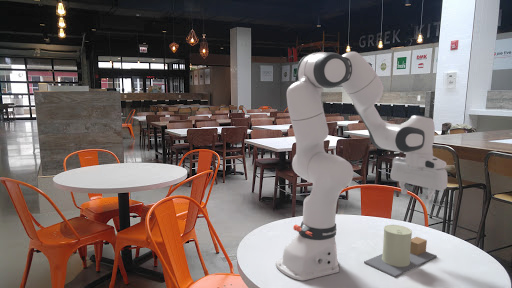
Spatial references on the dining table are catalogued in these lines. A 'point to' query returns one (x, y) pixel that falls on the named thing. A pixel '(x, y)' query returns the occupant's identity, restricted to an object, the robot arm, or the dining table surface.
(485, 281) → the dining table surface
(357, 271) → the dining table surface
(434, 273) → the dining table surface
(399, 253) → the can
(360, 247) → the dining table surface
